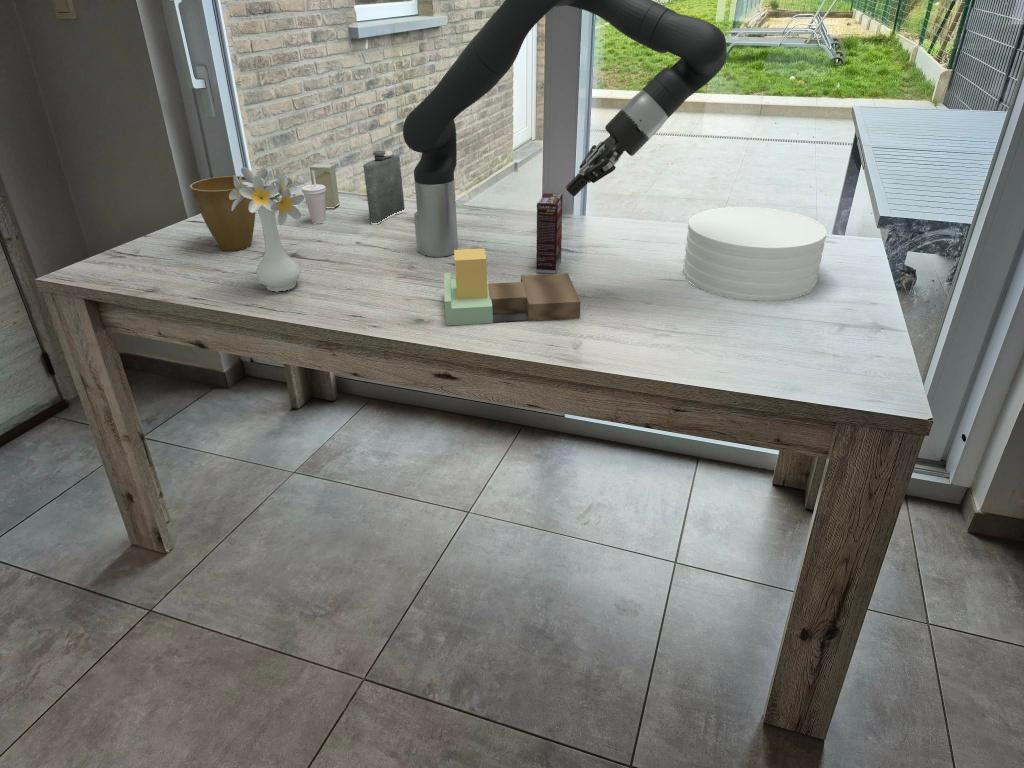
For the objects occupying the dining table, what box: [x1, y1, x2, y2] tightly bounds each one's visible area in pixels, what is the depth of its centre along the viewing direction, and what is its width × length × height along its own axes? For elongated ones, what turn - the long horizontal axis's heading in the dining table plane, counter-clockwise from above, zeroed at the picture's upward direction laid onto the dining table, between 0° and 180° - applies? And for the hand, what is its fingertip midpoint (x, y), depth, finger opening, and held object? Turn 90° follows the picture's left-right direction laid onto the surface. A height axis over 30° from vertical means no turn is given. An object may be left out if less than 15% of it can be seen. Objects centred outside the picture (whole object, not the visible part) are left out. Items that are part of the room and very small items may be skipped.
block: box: [453, 248, 488, 299], centre depth 138 cm, size 6×6×8 cm
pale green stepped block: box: [443, 272, 494, 326], centre depth 141 cm, size 9×15×5 cm, turn 5°
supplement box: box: [535, 192, 564, 274], centre depth 157 cm, size 9×5×16 cm, turn 168°
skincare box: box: [309, 163, 340, 207], centre depth 204 cm, size 6×4×12 cm
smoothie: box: [301, 171, 327, 224], centre depth 191 cm, size 6×6×14 cm
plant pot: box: [189, 175, 256, 252], centre depth 174 cm, size 15×15×16 cm
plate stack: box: [682, 206, 828, 302], centre depth 152 cm, size 28×28×12 cm
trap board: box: [488, 272, 581, 324], centre depth 142 cm, size 17×15×4 cm
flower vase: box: [229, 167, 305, 293], centre depth 147 cm, size 13×18×25 cm
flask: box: [362, 150, 405, 223], centre depth 193 cm, size 4×14×18 cm, turn 153°
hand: (569, 192), depth 135 cm, fingers closed
